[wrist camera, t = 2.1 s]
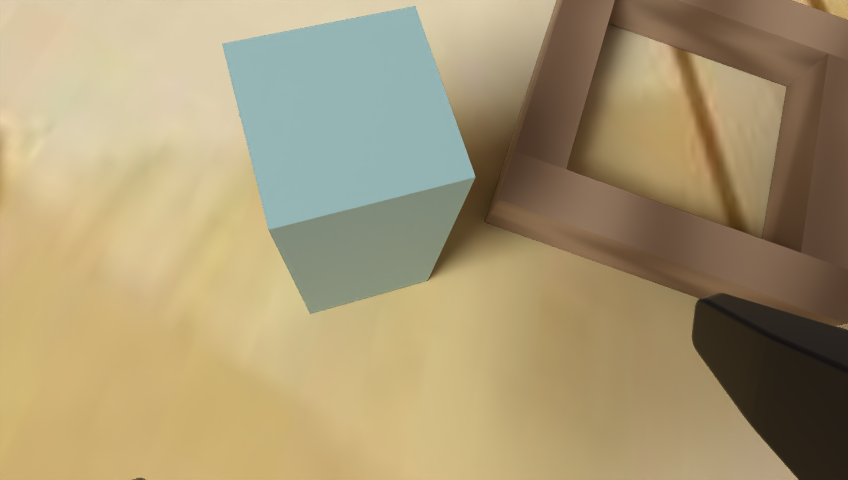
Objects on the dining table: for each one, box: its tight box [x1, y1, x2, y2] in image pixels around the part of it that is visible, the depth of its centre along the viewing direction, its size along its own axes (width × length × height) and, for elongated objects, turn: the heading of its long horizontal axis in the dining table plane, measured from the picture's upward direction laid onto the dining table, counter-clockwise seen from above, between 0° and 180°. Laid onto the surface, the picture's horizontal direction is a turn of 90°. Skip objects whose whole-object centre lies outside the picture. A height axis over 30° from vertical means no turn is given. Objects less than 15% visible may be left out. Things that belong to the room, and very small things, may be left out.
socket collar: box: [485, 0, 848, 326], centre depth 24 cm, size 13×13×2 cm
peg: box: [222, 6, 476, 314], centre depth 18 cm, size 4×4×10 cm
